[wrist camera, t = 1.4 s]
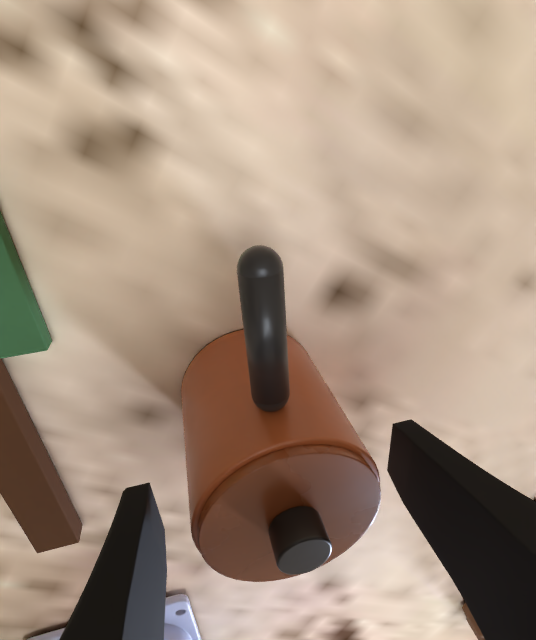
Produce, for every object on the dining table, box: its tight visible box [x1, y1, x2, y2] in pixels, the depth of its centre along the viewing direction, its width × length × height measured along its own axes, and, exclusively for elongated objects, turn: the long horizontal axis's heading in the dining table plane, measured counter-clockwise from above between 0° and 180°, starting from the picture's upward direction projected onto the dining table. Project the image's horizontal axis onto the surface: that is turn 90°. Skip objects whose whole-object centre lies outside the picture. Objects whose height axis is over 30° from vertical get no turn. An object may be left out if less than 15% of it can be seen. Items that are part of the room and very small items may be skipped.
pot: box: [181, 245, 381, 582], centre depth 11 cm, size 10×5×7 cm, turn 4°
